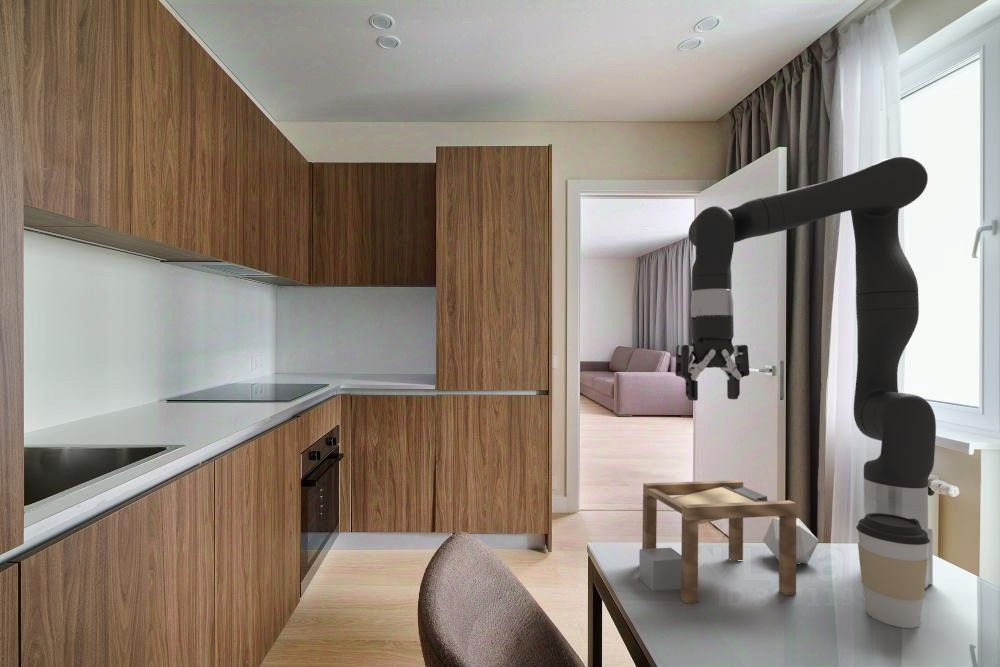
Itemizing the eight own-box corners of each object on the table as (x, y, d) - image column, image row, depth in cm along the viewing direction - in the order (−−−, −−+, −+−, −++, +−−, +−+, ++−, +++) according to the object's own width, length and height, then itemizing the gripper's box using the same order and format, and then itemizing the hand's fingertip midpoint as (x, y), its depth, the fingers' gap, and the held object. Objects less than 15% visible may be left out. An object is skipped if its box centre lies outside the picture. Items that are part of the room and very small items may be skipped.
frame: (737, 558, 101) (738, 480, 101) (796, 594, 86) (796, 503, 86) (642, 564, 97) (643, 483, 97) (686, 603, 82) (687, 507, 82)
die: (815, 578, 94) (832, 530, 97) (770, 550, 95) (789, 504, 99) (791, 575, 101) (807, 531, 105) (750, 550, 103) (767, 507, 106)
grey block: (670, 547, 92) (639, 549, 91) (686, 558, 88) (653, 560, 86) (670, 575, 92) (639, 578, 91) (685, 588, 87) (652, 591, 86)
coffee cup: (864, 623, 77) (864, 521, 77) (849, 597, 85) (849, 505, 86) (940, 637, 73) (940, 530, 74) (917, 608, 82) (916, 512, 82)
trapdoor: (701, 535, 85) (698, 517, 85) (667, 514, 96) (664, 498, 96) (779, 516, 88) (777, 499, 88) (737, 498, 99) (735, 483, 99)
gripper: (731, 316, 104) (732, 397, 104) (667, 315, 101) (668, 398, 101) (758, 313, 97) (759, 400, 96) (689, 312, 94) (690, 402, 93)
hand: (712, 399), depth 98 cm, fingers open, 8 cm apart
